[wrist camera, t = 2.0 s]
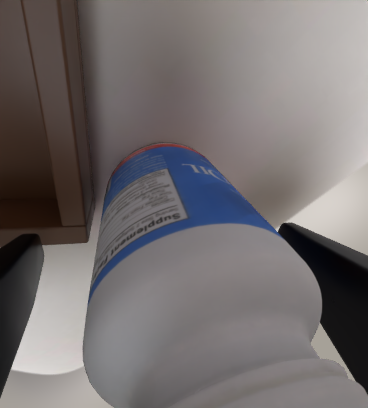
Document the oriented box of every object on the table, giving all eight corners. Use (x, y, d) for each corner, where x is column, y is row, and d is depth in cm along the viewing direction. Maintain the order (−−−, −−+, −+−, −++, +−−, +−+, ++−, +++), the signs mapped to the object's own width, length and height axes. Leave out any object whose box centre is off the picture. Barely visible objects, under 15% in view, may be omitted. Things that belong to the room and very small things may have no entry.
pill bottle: (232, 195, 12) (475, 469, 4) (157, 251, 13) (221, 576, 4) (171, 110, 9) (759, 586, 1) (78, 191, 10) (-156, 845, 2)
